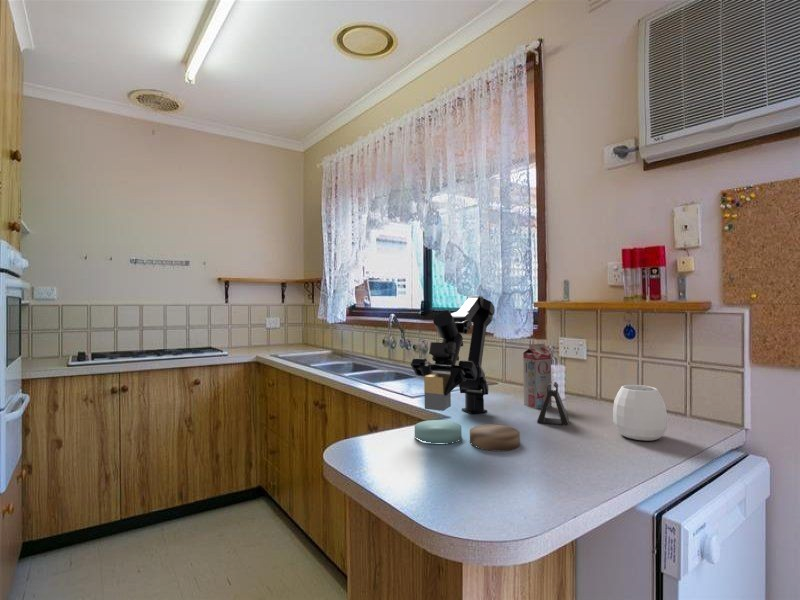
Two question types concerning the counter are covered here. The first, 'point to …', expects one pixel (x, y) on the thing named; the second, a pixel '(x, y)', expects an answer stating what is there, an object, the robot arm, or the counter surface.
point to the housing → (436, 392)
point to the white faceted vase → (640, 412)
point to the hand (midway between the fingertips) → (435, 393)
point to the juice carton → (536, 375)
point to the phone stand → (561, 409)
